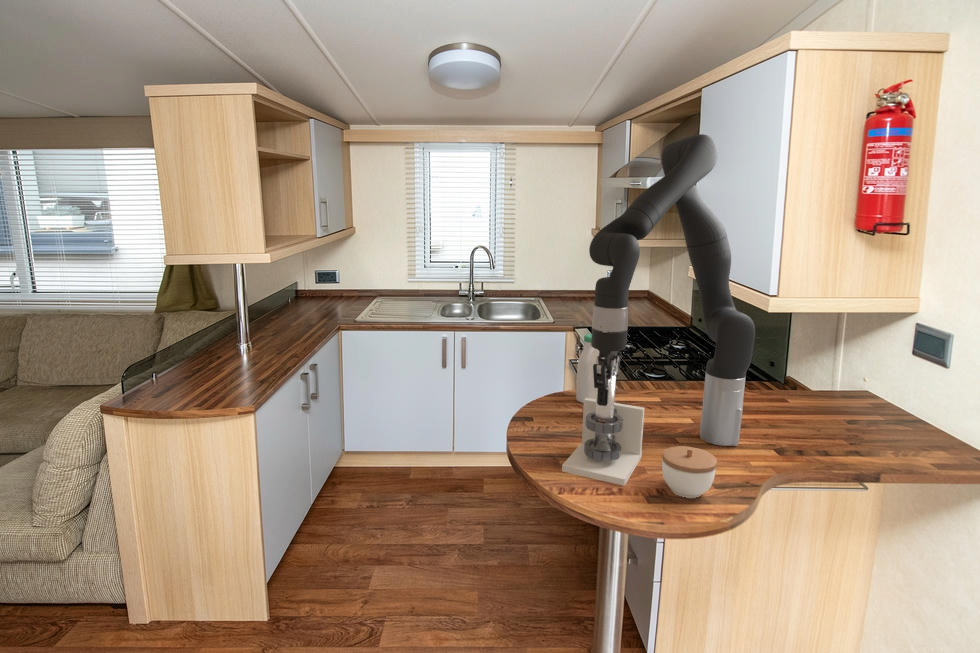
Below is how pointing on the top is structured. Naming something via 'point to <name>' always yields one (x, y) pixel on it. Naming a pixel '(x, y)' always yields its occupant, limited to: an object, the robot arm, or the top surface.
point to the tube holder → (626, 438)
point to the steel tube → (605, 418)
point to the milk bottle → (584, 371)
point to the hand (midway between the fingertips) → (605, 401)
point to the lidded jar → (688, 470)
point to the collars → (606, 429)
